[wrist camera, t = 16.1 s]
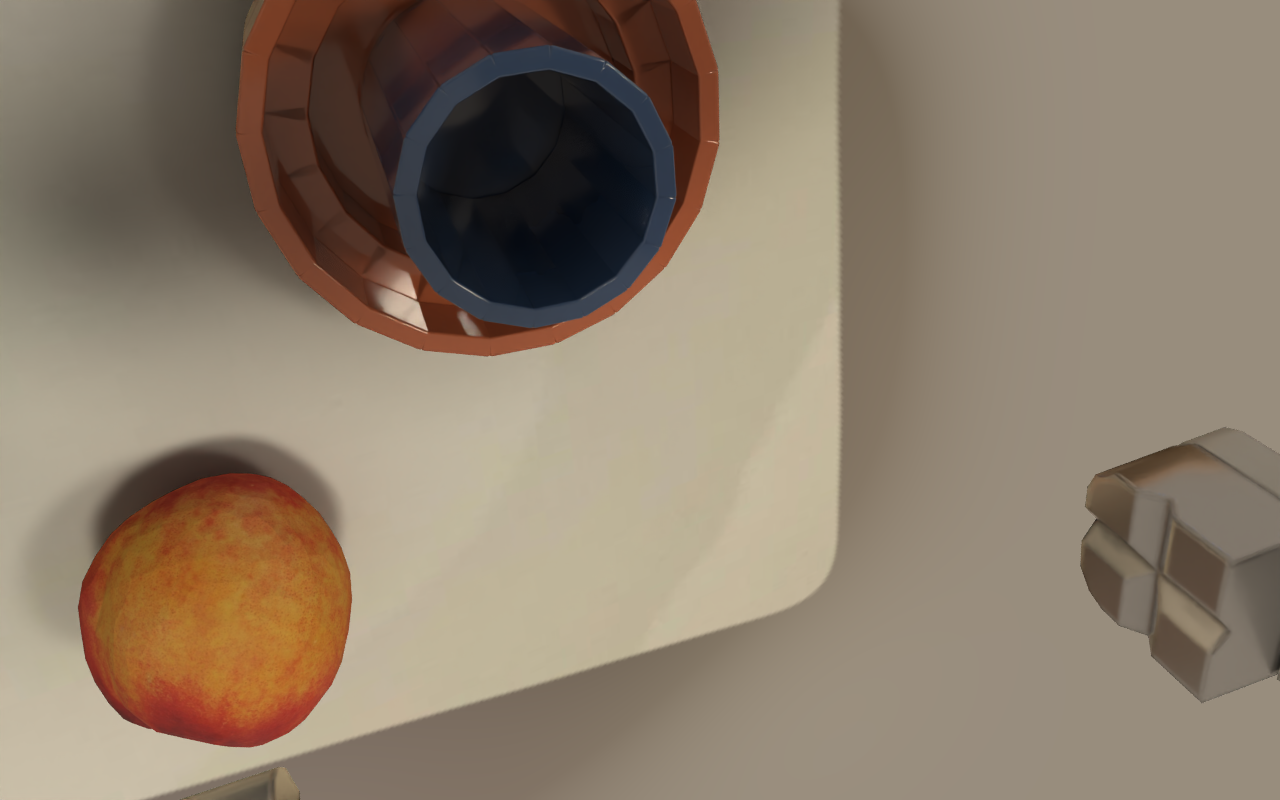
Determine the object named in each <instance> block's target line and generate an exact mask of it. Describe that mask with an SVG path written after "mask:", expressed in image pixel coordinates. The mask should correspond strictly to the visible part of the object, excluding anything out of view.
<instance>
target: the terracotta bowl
mask: <svg viewBox="0 0 1280 800" xmlns="http://www.w3.org/2000/svg"><path fill="white" fill-rule="evenodd" d="M418 1H420V0H253V3H252V5H251V7H250V9H249V12H248V14H247V16H246V21H245V23H244V33H243V44H242V55H241V67H240V80H239V93H238V105H237V118H236V138H237V142H238V146H239V150H240V154H241V158H242V162H243V165H244V169H245V173H246V177H247V181H248V185H249V189H250V192H251V196H252V200H253V204H254V208H255V211H256V212H257V215H258V216H259V218H260V219H261V221H262V222H263V224H264V226H265V227H266V229H267V230H268V232H269V233H270V235H271V236H272V238H273V239H274V241H275V242H276V244H277V246H278V247H279V249H280V250H281V252H282V253H283V255H284V256H285V258H286V259H287V261H288V263H289V264H290V266H291V267H292V269H293V270H294V272H295V273H296V275H298V276H299V279H301V280H302V281H303V282H304V283H306V284H307V285H308V286H309V287H310V288H312V289H313V290H314V291H315V292H317V293H318V294H319V295H320V296H321V297H323V298H324V299H325V300H326V301H328V302H329V303H330V304H331V305H333V306H334V307H335V308H336V309H337V310H339V311H340V312H341V313H342V314H344V315H345V316H346V317H347V318H348V319H350V320H351V321H352V322H353V323H356V324H358V325H360V326H362V327H365V328H367V329H370V330H372V331H375V332H377V333H380V334H382V335H385V336H387V337H389V338H392V339H394V340H397V341H399V342H402V343H404V344H407V345H409V346H412V347H414V348H417V349H420V350H421V349H422V350H424V351H434V352H445V353H456V354H467V355H477V356H489V355H490V356H496V355H501V354H506V353H511V352H516V351H522V350H527V349H532V348H537V347H542V346H547V345H552V344H555V342H556V343H559V342H561V341H563V340H565V339H566V338H568V337H570V336H572V335H574V334H576V333H578V332H580V331H582V330H584V329H586V328H588V327H590V326H592V325H594V324H596V323H598V322H600V321H602V320H604V319H606V318H608V317H610V316H612V315H614V314H615V312H618V311H619V310H620V309H621V308H622V307H623V306H624V305H625V304H626V303H628V302H629V301H630V300H631V299H632V298H633V297H634V296H635V295H636V294H637V293H638V292H639V291H641V290H642V289H643V288H644V287H645V286H646V285H647V284H648V283H649V282H650V281H651V280H652V279H653V278H655V277H656V276H657V275H658V274H659V273H660V272H661V271H662V270H663V269H664V267H666V266H667V264H668V263H669V261H670V260H671V258H672V256H673V255H674V253H675V251H676V250H677V248H678V246H679V245H680V243H681V242H682V240H683V238H684V237H685V235H686V233H687V232H688V230H689V228H690V227H691V225H692V224H693V222H694V220H695V219H696V217H697V215H698V214H699V212H700V209H701V208H702V204H703V201H704V197H705V193H706V190H707V186H708V183H709V179H710V175H711V172H712V168H713V165H714V161H715V157H716V154H717V150H718V146H719V142H718V141H719V84H718V70H717V69H718V66H717V63H716V60H715V57H714V54H713V51H712V48H711V45H710V42H709V38H708V35H707V32H706V29H705V26H704V23H703V20H702V17H701V14H700V11H699V8H698V5H697V1H696V0H514V1H518V2H521V3H522V4H524V5H526V6H527V7H529V8H530V9H532V10H533V11H535V12H536V13H538V14H539V15H541V16H542V17H544V18H545V19H547V20H548V21H550V22H551V23H552V24H554V25H555V26H557V27H558V28H560V29H561V30H563V31H564V32H566V33H567V34H569V35H570V36H572V37H573V38H575V39H576V40H578V41H579V42H581V43H582V44H584V45H585V46H586V47H588V48H589V49H591V50H592V51H594V52H595V53H597V54H598V55H600V56H601V57H603V58H604V59H606V60H607V61H609V62H610V63H611V64H612V65H613V66H615V67H616V68H617V69H618V70H619V71H621V72H622V73H623V74H624V75H625V76H627V77H628V78H629V79H630V80H631V81H633V82H634V83H635V84H636V85H637V86H639V87H640V88H641V89H642V90H643V91H645V92H646V93H647V94H648V96H649V97H650V98H651V100H652V102H653V104H654V106H655V108H656V110H657V112H658V114H659V116H660V118H661V120H662V122H663V124H664V126H665V128H666V130H667V132H668V134H669V136H670V138H671V140H672V145H673V149H674V164H675V179H676V202H675V205H674V208H673V211H672V214H671V217H670V221H669V224H668V227H667V230H666V233H665V236H664V240H663V243H662V246H661V247H659V248H660V249H659V251H658V252H657V253H656V255H655V256H654V257H653V259H652V260H651V261H650V262H649V264H648V265H647V266H646V268H645V269H644V270H643V271H642V273H641V274H640V275H639V277H638V278H637V279H636V280H635V282H634V283H633V284H632V286H631V287H630V288H629V289H628V288H627V291H625V292H624V293H622V294H621V295H619V296H617V297H616V298H614V299H613V300H611V301H610V302H608V303H606V304H605V305H603V306H602V307H600V308H598V309H597V310H595V311H594V312H592V313H591V314H589V315H587V316H585V317H584V316H583V318H580V319H575V320H571V321H566V322H561V323H557V324H552V325H547V326H543V327H538V328H526V327H520V326H513V325H507V324H500V323H494V322H488V321H483V320H482V319H481V320H480V319H478V318H476V317H474V316H473V315H471V314H469V313H468V312H466V311H464V310H463V309H461V308H459V307H458V306H456V305H454V304H453V303H451V302H449V301H448V300H446V299H444V298H443V297H441V296H439V295H438V294H437V293H436V292H435V291H434V290H433V289H432V287H431V286H430V285H429V283H428V282H427V280H426V279H425V278H424V276H423V275H422V273H421V272H420V271H419V269H418V268H417V267H416V265H415V264H414V262H413V261H412V260H411V258H410V257H409V256H408V254H407V253H406V251H405V248H404V247H403V244H402V241H401V238H400V235H399V232H398V229H397V226H396V223H395V220H394V217H393V214H392V211H391V208H390V205H389V202H388V199H387V196H386V193H385V190H384V187H383V184H382V181H381V178H380V175H379V172H378V169H377V166H376V163H375V160H374V157H373V154H372V151H371V148H370V145H369V140H368V136H367V131H366V127H365V124H364V120H363V114H362V109H361V89H362V80H363V74H364V70H365V66H366V63H367V60H368V58H369V55H370V53H371V50H372V48H373V46H374V45H375V43H376V41H377V39H378V38H379V36H380V35H381V33H382V32H383V31H384V30H385V28H386V27H387V26H388V24H389V23H390V22H391V21H392V20H394V19H395V18H396V17H397V16H398V15H399V14H400V13H401V12H403V11H404V10H405V9H407V8H408V7H409V6H411V5H413V4H414V3H416V2H418Z"/></svg>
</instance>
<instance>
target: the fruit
mask: <svg viewBox="0 0 1280 800" xmlns="http://www.w3.org/2000/svg"><path fill="white" fill-rule="evenodd" d="M351 603H352V593H351V580H350V572H349V569H348V565H347V562H346V559H345V557H344V554H343V551H342V548H341V546H340V545H339V543H338V541H337V539H336V538H335V536H334V534H333V533H332V531H331V529H330V528H329V526H328V525H327V524H326V522H325V521H324V519H323V518H322V516H321V515H320V514H319V512H318V511H317V510H316V509H315V508H314V507H312V506H311V505H310V504H309V503H308V502H307V501H306V500H305V499H304V498H303V497H302V496H300V495H299V494H298V493H296V492H295V491H294V490H293V489H291V488H290V487H289V486H287V485H285V484H283V483H281V482H279V481H277V480H275V479H273V478H270V477H266V476H262V475H257V474H250V473H229V474H224V475H218V476H213V477H207V478H202V479H199V480H197V481H194V482H192V483H190V484H187V485H185V486H183V487H180V488H178V489H176V490H174V491H172V492H170V493H168V494H166V495H164V496H162V497H160V498H158V499H157V500H155V501H153V502H151V503H150V504H148V505H147V506H145V507H144V508H142V509H141V510H139V511H138V512H136V513H135V514H133V515H132V516H130V517H129V518H128V519H127V520H126V521H124V522H123V523H122V524H121V525H120V526H119V527H118V528H117V529H116V530H115V531H113V532H112V533H111V534H110V536H109V537H108V539H107V540H106V542H105V543H104V544H103V546H102V547H101V549H100V550H99V552H98V553H97V554H96V556H95V558H94V560H93V562H92V564H91V566H90V568H89V570H88V572H87V574H86V576H85V578H84V580H83V582H82V587H81V593H80V599H79V605H78V611H79V619H80V627H81V635H82V641H83V647H84V653H85V659H86V661H87V664H88V666H89V669H90V671H91V674H92V676H93V679H94V681H95V683H96V685H97V686H98V688H99V689H100V691H101V692H102V694H103V695H104V697H105V698H106V700H107V701H108V703H109V704H110V705H111V706H112V707H113V708H114V709H115V710H116V711H117V712H118V713H119V714H120V715H121V717H122V718H123V719H125V720H127V721H129V722H131V723H134V724H137V725H139V726H142V727H145V728H148V729H153V730H155V731H156V732H160V733H164V734H168V735H173V736H177V737H182V738H186V739H191V740H196V741H200V742H205V743H209V744H214V745H221V746H228V747H254V746H259V745H263V744H265V743H268V742H270V741H272V740H274V739H277V738H279V737H281V736H283V735H285V734H287V733H289V732H290V731H291V730H293V729H294V728H295V727H297V726H298V725H299V724H300V723H301V722H302V721H304V720H305V719H306V717H307V716H308V715H309V714H310V712H311V711H312V710H313V709H314V707H315V706H316V705H317V703H318V702H319V701H320V699H321V698H322V697H323V695H324V694H325V693H326V691H327V690H328V689H329V687H330V686H331V685H332V683H333V680H334V678H335V676H336V674H337V671H338V669H339V667H340V665H341V662H342V658H343V653H344V648H345V643H346V639H347V635H348V631H349V622H350V613H351Z"/></svg>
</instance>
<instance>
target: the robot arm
mask: <svg viewBox="0 0 1280 800" xmlns="http://www.w3.org/2000/svg"><path fill="white" fill-rule="evenodd" d="M1085 507H1086V508H1087V509H1088V510H1089V512H1090V513H1091V514H1092V515H1093V516H1094V517H1095V518H1096V520H1095V522H1094V523H1093V524H1092V526H1091V527H1090V529H1089V530H1088V532H1087V533H1086V535H1085V536H1084V538H1083V540H1082V544H1081V569H1082V572H1083V574H1084V577H1085V580H1086V583H1087V586H1088V589H1089V591H1090V592H1091V594H1092V596H1093V597H1094V599H1095V600H1096V601H1097V603H1098V604H1099V606H1100V607H1101V609H1102V610H1103V611H1104V612H1105V613H1106V614H1107V615H1108V616H1110V617H1111V618H1112V619H1113V620H1114V621H1115V622H1116V623H1117V624H1118V625H1119V626H1121V627H1124V628H1127V629H1130V630H1133V631H1136V632H1139V633H1142V634H1145V635H1148V638H1149V644H1150V651H1151V656H1152V657H1153V658H1154V659H1155V660H1156V661H1157V662H1158V663H1159V664H1160V665H1161V666H1163V668H1165V669H1166V670H1167V671H1168V672H1169V673H1170V674H1171V675H1172V676H1173V677H1174V678H1175V679H1176V680H1177V681H1179V682H1180V683H1181V684H1182V685H1183V686H1184V687H1185V688H1186V689H1187V690H1188V691H1189V692H1190V693H1192V694H1193V695H1194V696H1195V697H1196V698H1197V699H1198V700H1199V701H1200V702H1201V703H1203V702H1206V701H1209V700H1211V699H1214V698H1216V697H1219V696H1222V695H1224V694H1227V693H1230V692H1232V691H1235V690H1238V689H1240V688H1243V687H1246V686H1248V685H1251V684H1253V683H1256V682H1258V681H1261V680H1264V679H1267V678H1269V677H1272V676H1275V675H1277V674H1278V677H1277V680H1279V681H1280V454H1278V453H1277V452H1275V451H1274V450H1272V449H1270V448H1269V447H1267V446H1265V445H1264V444H1262V443H1261V442H1259V441H1257V440H1256V439H1254V438H1252V437H1251V436H1249V435H1247V434H1246V433H1244V432H1242V431H1239V430H1235V429H1231V428H1226V427H1224V428H1221V429H1218V430H1215V431H1213V432H1210V433H1207V434H1205V435H1202V436H1199V437H1196V438H1194V439H1191V440H1188V441H1185V442H1183V443H1181V444H1180V445H1176V446H1172V447H1169V448H1166V449H1163V450H1161V451H1158V452H1155V453H1153V454H1150V455H1147V456H1144V457H1142V458H1139V459H1137V460H1134V461H1131V462H1129V463H1126V464H1123V465H1120V466H1117V467H1115V468H1112V469H1109V470H1107V471H1104V472H1101V473H1099V474H1096V475H1095V476H1094V478H1093V479H1092V481H1091V483H1090V484H1089V486H1088V487H1087V495H1086V504H1085ZM180 800H300V792H299V790H298V788H297V786H296V785H295V783H294V781H293V779H292V778H291V776H290V774H289V773H288V771H287V769H286V768H282V767H277V768H274V769H271V770H268V771H265V772H262V773H259V774H255V775H252V776H249V777H247V778H243V779H241V780H237V781H234V782H231V783H228V784H225V785H222V786H219V787H216V788H213V789H210V790H207V791H204V792H201V793H198V794H195V795H192V796H189V797H186V798H183V799H180Z"/></svg>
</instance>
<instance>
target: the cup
mask: <svg viewBox="0 0 1280 800" xmlns="http://www.w3.org/2000/svg"><path fill="white" fill-rule="evenodd" d="M361 109H362V114H363V120H364V124H365V127H366V131H367V136H368V140H369V145H370V148H371V151H372V154H373V157H374V160H375V163H376V166H377V169H378V172H379V175H380V178H381V181H382V184H383V187H384V190H385V193H386V196H387V199H388V202H389V205H390V208H391V211H392V214H393V217H394V220H395V223H396V226H397V229H398V232H399V235H400V238H401V241H402V244H403V247H404V248H405V251H406V253H407V254H408V256H409V257H410V258H411V260H412V261H413V262H414V264H415V265H416V267H417V268H418V269H419V271H420V272H421V273H422V275H423V276H424V278H425V279H426V280H427V282H428V283H429V285H430V286H431V287H432V289H433V290H434V291H435V292H436V293H437V294H438V295H439V296H441V297H443V298H444V299H446V300H448V301H449V302H451V303H453V304H454V305H456V306H458V307H459V308H461V309H463V310H464V311H466V312H468V313H469V314H471V315H473V316H474V317H476V318H478V319H480V320H481V319H482V320H483V321H488V322H494V323H500V324H507V325H513V326H520V327H526V328H538V327H543V326H547V325H552V324H557V323H561V322H566V321H571V320H575V319H580V318H583V316H584V317H585V316H587V315H589V314H591V313H592V312H594V311H595V310H597V309H598V308H600V307H602V306H603V305H605V304H606V303H608V302H610V301H611V300H613V299H614V298H616V297H617V296H619V295H621V294H622V293H624V292H625V291H627V288H628V289H629V288H630V287H631V286H632V284H633V283H634V282H635V280H636V279H637V278H638V277H639V275H640V274H641V273H642V271H643V270H644V269H645V268H646V266H647V265H648V264H649V262H650V261H651V260H652V259H653V257H654V256H655V255H656V253H657V252H658V251H659V249H660V248H659V247H661V246H662V243H663V240H664V236H665V233H666V230H667V227H668V224H669V221H670V217H671V214H672V211H673V208H674V205H675V202H676V179H675V164H674V149H673V145H672V140H671V138H670V136H669V134H668V132H667V130H666V128H665V126H664V124H663V122H662V120H661V118H660V116H659V114H658V112H657V110H656V108H655V106H654V104H653V102H652V100H651V98H650V97H649V96H648V94H647V93H646V92H645V91H643V90H642V89H641V88H640V87H639V86H637V85H636V84H635V83H634V82H633V81H631V80H630V79H629V78H628V77H627V76H625V75H624V74H623V73H622V72H621V71H619V70H618V69H617V68H616V67H615V66H613V65H612V64H611V63H610V62H609V61H607V60H606V59H604V58H603V57H601V56H600V55H598V54H597V53H595V52H594V51H592V50H591V49H589V48H588V47H586V46H585V45H584V44H582V43H581V42H579V41H578V40H576V39H575V38H573V37H572V36H570V35H569V34H567V33H566V32H564V31H563V30H561V29H560V28H558V27H557V26H555V25H554V24H552V23H551V22H550V21H548V20H547V19H545V18H544V17H542V16H541V15H539V14H538V13H536V12H535V11H533V10H532V9H530V8H529V7H527V6H526V5H524V4H522V3H521V2H518V1H514V0H420V1H418V2H416V3H414V4H413V5H411V6H409V7H408V8H407V9H405V10H404V11H403V12H401V13H400V14H399V15H398V16H397V17H396V18H395V19H394V20H392V21H391V22H390V23H389V24H388V26H387V27H386V28H385V30H384V31H383V32H382V33H381V35H380V36H379V38H378V39H377V41H376V43H375V45H374V46H373V48H372V50H371V53H370V55H369V58H368V60H367V63H366V66H365V70H364V74H363V80H362V89H361Z"/></svg>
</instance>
